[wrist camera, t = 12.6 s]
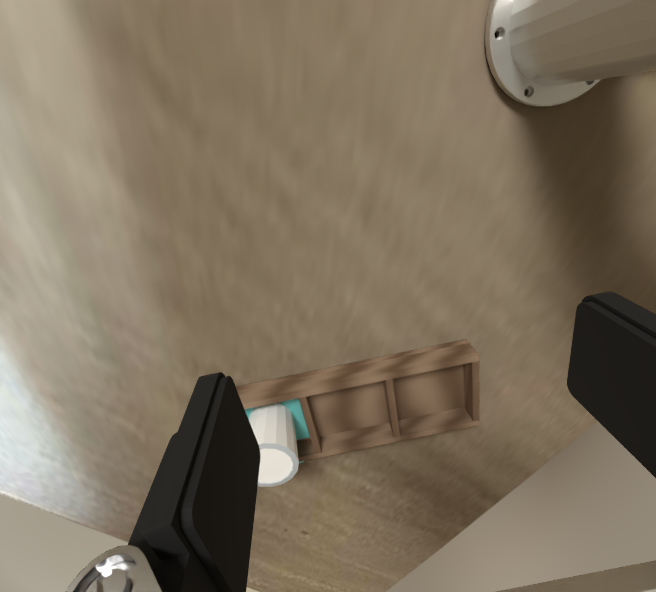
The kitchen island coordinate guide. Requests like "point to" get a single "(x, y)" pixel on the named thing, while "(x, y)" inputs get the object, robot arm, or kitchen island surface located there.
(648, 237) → the kitchen island surface
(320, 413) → the rack
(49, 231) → the kitchen island surface
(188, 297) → the kitchen island surface
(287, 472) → the white cup
